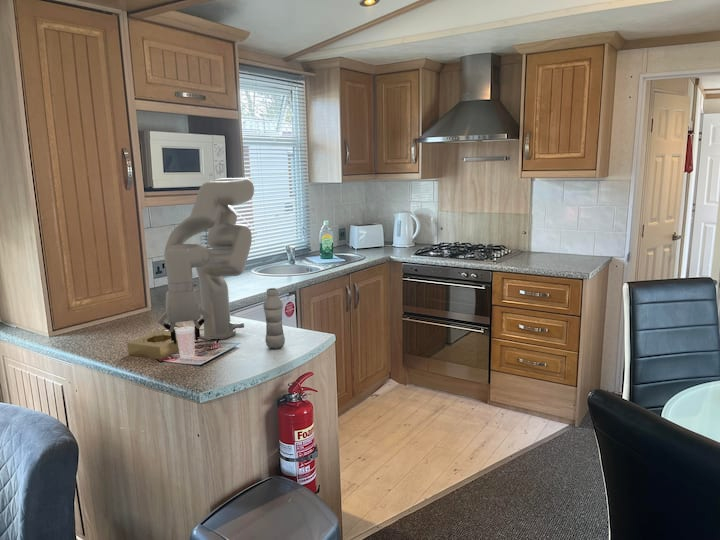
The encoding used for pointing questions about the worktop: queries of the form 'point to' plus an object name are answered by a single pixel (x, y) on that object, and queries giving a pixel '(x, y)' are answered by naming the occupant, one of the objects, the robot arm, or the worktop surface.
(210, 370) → the worktop surface
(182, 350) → the beverage cup
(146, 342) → the block
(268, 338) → the plastic bottle
